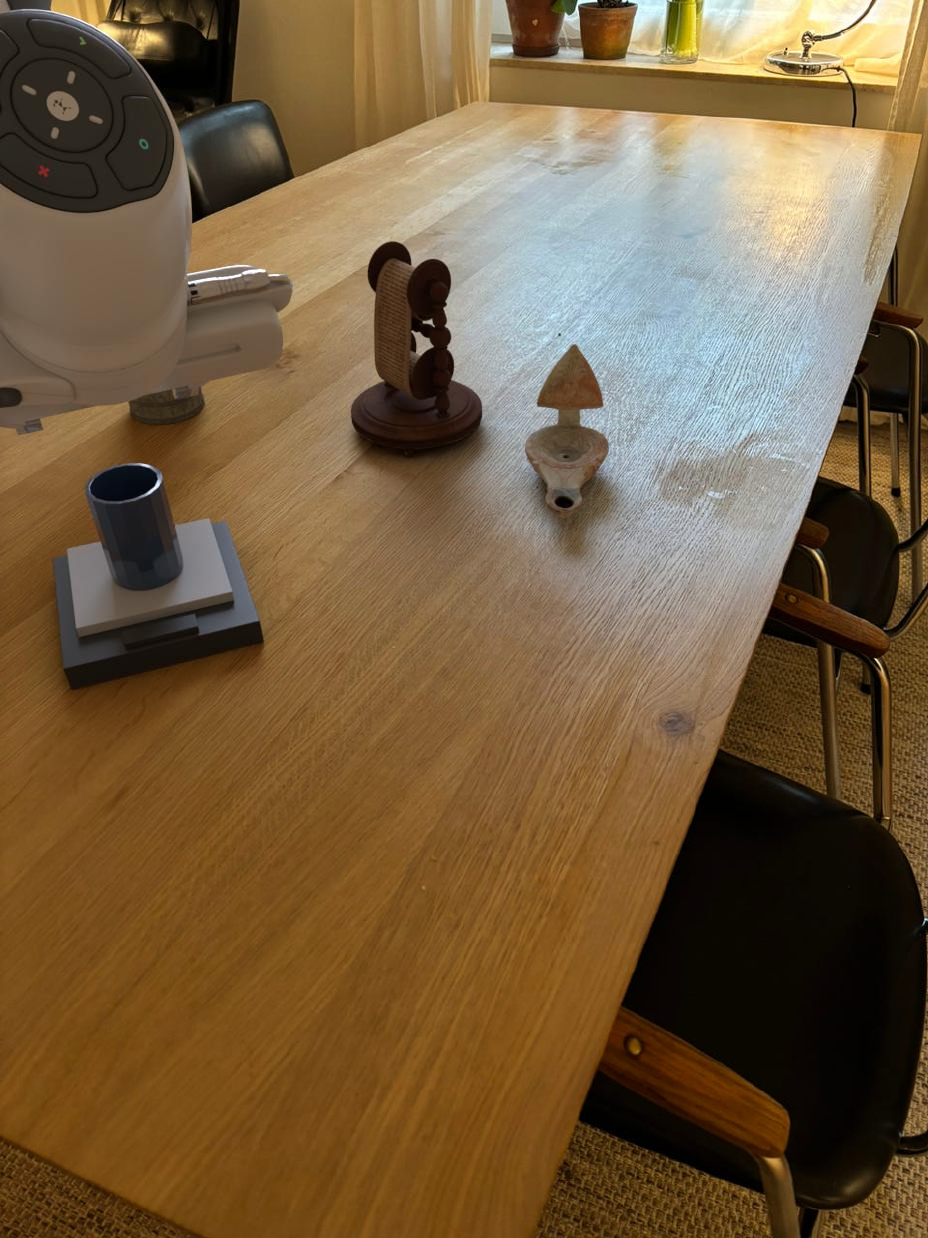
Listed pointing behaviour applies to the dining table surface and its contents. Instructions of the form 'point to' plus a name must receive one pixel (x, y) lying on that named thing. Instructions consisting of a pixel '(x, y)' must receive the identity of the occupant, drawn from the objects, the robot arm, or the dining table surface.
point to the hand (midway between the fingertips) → (106, 403)
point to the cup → (135, 526)
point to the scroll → (412, 359)
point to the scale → (153, 609)
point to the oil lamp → (567, 433)
